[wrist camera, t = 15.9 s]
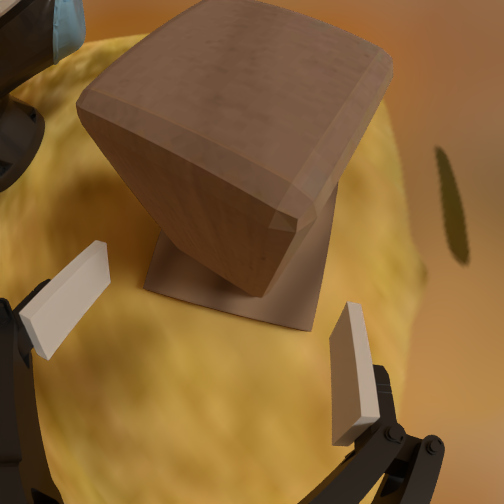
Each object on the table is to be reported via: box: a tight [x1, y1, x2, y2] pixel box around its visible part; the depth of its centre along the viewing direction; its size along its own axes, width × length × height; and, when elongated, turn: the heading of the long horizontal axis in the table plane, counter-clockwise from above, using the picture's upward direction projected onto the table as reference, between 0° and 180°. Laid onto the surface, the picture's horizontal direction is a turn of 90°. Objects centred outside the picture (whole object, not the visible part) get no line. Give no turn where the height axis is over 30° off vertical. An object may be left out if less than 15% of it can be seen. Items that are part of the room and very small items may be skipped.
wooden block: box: [76, 0, 393, 298], centre depth 18 cm, size 10×10×20 cm
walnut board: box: [143, 182, 338, 332], centre depth 29 cm, size 16×16×2 cm
